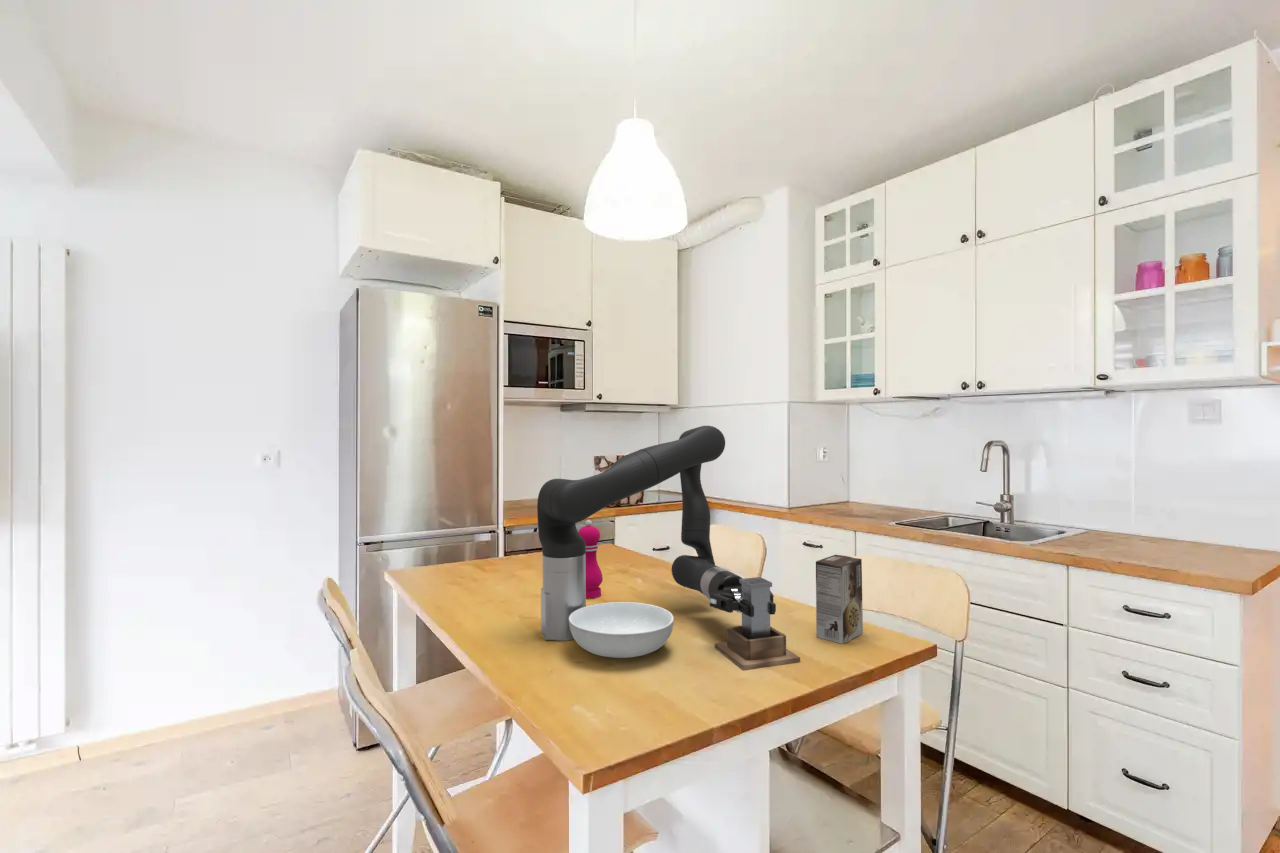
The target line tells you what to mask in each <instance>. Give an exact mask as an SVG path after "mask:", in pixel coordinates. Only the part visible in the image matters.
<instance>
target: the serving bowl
mask: <svg viewBox="0 0 1280 853" xmlns="http://www.w3.org/2000/svg"><path fill="white" fill-rule="evenodd" d="M674 621H675V617H674V615H673V614H672V612H670V611H669V610H668V609H665V608H663V607H661V606H657V605H655V604H648V603H643V602H633V601H610V602H601V603H595V604H590V605H586V607H583V608H580V609H578V610H576V611H574V612H573V613H571V615H570V616H569V626H570V630H571V633H572V636H573V638H574V639H573V640H574V641H575V643H577V645H578V646H580V647H581V648H582V649H584V650H585V651H587V652H588V653H591V654H594V655H597V656H601V657H606V658H612V659H628V658H635V657H641V656H644V655H649V654H651V653H653V652H655V651H657V650H658V649H660V648H661V647H663V646H664V645H665V643H666V642H667V641H668V639H669V638H670V636H671V634H672V632H673V627H674Z"/></svg>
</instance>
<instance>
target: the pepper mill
mask: <svg viewBox="0 0 1280 853" xmlns="http://www.w3.org/2000/svg"><path fill="white" fill-rule="evenodd" d="M584 523H585V525H584V526H581V528H579V530H577V531H578V533H579V535H580V536H581V537H582V538H583V539H584V541H585V547H586V553H585V555H586V598H591V599H597V598H600V597H601V596H602V588H601V587H600V585H602V583H603V582H604V580H603V579H604V578H603V572H602V570H601V568H600V566H599V563H598V560H597V553H598V552H597V551H598V550H599V547H598V546H599V543H598V542H599V540H600V539H601V534H600V533H601V532H600V530H599V529H598V528H597V527H596V526H593V521H592V520H590V519H586V521H585V522H584ZM596 597H597V598H596Z"/></svg>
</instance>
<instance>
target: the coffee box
mask: <svg viewBox="0 0 1280 853" xmlns="http://www.w3.org/2000/svg"><path fill="white" fill-rule="evenodd" d="M862 560H863V559H862V558H856V557H853V556H847V555H842V554H833V555H831V556H827V557H824V558H822V559H818V560H815V595H816V596H815V600H816V601H815V610H816V611H815V612H816V613H815V616H816V618H815V619H816V624H815V626H816V633H815V634H816V635H815V636H816V638H819V639H822V640H827V641H830V642H834V643H838V644H841V645H844V644H846V643H848V642H850V641H851V640H853V639H855V638H856V637H858V636H860V635H863V633H864V627H863V626H864V624H863V622H864V621H863V618H864V617H863V614H864V613H863V570H862V569H863V568H862V567H863V566H862V563H863V562H862Z"/></svg>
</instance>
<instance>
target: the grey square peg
mask: <svg viewBox="0 0 1280 853" xmlns="http://www.w3.org/2000/svg"><path fill="white" fill-rule="evenodd" d="M740 583H741V584H742V599H743V601H746V602H748V603H750V604H751V605H753V606H754V617H749V616H747V615H745V614H743V613H742V612H741V626H742V636H744V637H745V638H747V639H748V640H750V639H758V638H766V637H770V626H771V614H770V591H771V588H772V587H773V582H772V581H769V580H767V579H766V578H763V577H761V576H757V577H756V576H755V577H745V578H743V579H740Z"/></svg>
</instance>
